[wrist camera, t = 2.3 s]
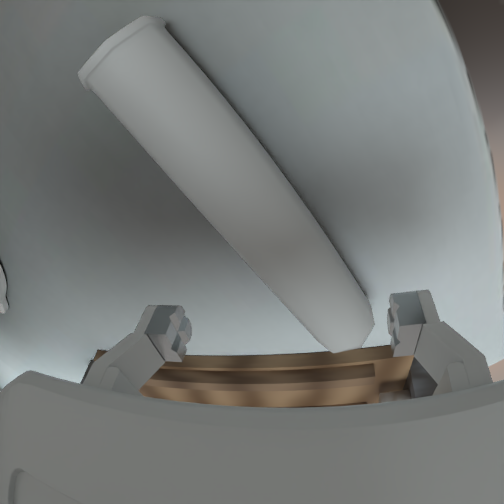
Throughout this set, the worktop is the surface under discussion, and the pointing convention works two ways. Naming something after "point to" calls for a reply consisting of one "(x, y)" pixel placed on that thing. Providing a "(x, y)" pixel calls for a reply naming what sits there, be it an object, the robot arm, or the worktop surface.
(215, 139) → the tube
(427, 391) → the shaft bed
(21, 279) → the worktop surface
